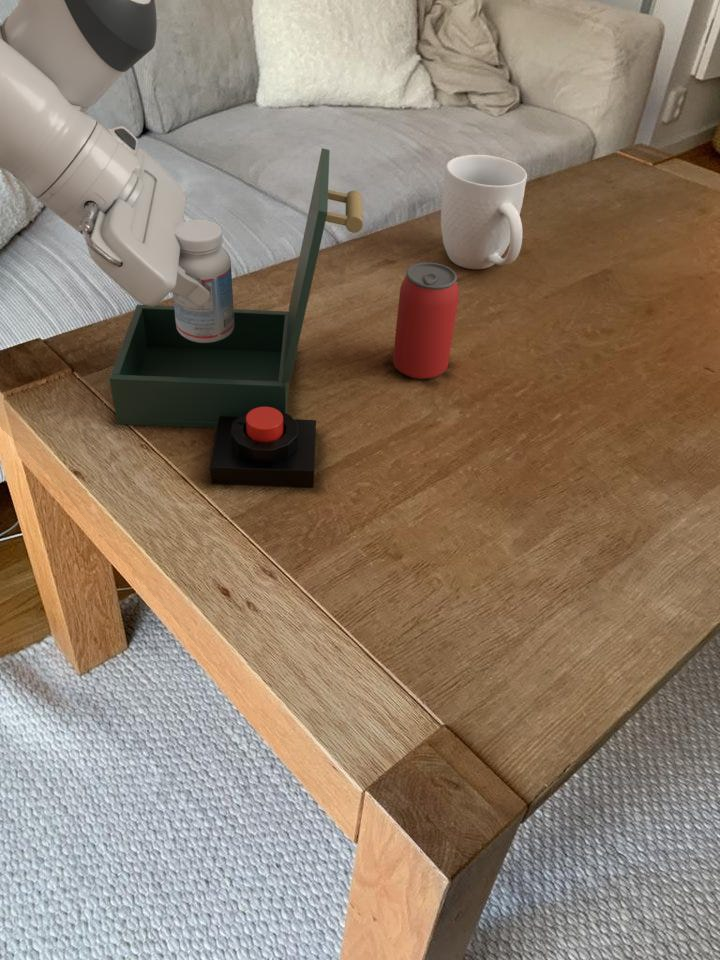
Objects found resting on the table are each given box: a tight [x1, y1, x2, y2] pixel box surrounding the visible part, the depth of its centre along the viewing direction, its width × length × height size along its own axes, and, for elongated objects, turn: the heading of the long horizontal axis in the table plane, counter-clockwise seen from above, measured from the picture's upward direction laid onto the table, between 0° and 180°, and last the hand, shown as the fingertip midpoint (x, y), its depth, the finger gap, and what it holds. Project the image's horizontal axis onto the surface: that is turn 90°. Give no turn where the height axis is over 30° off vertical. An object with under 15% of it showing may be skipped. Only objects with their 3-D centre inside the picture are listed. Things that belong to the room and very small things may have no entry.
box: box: [109, 304, 291, 429], centre depth 90 cm, size 18×15×6 cm
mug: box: [440, 154, 528, 270], centre depth 113 cm, size 15×11×13 cm
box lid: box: [282, 147, 364, 384], centre depth 82 cm, size 18×15×5 cm
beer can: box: [392, 261, 460, 380], centre depth 93 cm, size 7×7×12 cm
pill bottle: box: [172, 219, 235, 343], centre depth 83 cm, size 6×6×11 cm
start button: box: [246, 407, 283, 442], centre depth 80 cm, size 4×4×2 cm
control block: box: [209, 410, 317, 488], centre depth 82 cm, size 10×8×4 cm
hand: (207, 279), depth 83 cm, fingers closed on pill bottle, 6 cm apart
